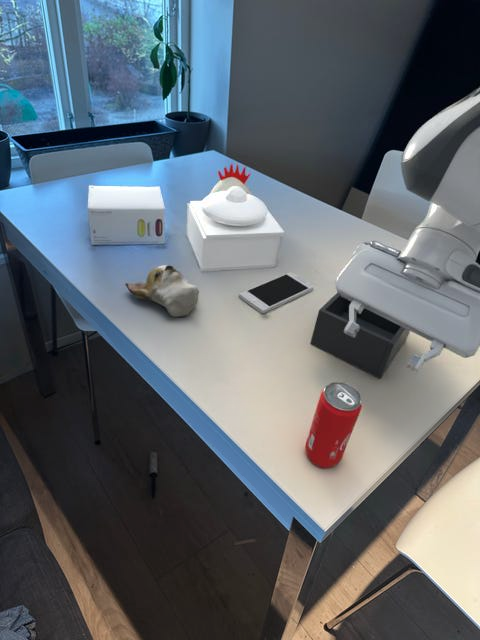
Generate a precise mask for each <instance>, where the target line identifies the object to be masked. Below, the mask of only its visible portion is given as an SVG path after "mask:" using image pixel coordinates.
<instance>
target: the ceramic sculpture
mask: <svg viewBox="0 0 480 640" xmlns="http://www.w3.org/2000/svg"><path fill="white" fill-rule="evenodd" d="M124 285H125V287H126V288H127V290H128V291H129V293H130V294H131V295H133V296H134V297H136V298H137V299H142V300H148V301H153V302H155V303H157V304H158V305H160V306H163V307H165V308H166V310H167V313H169V315H170V316H172V317H174V318H178V317H184V316H187V315H188V314H190V312H192V311H193V310H194V309H195V307H196V306H197V304H198V301H199V295H200V290H199V289H198V287H197V286H196V285H195V284H191V283H189V281H188V280H187V279H186V277H185V276H184V274H182V273H181V271H180V270H179V269H177V268H175V267H174V266H173V265H169V264H168V265H167V264H164V265H160V266H156V267H154V268H153V269H152V270H150V271H149V272H148V274H147V277H146V281H145V282H135V283H127V282H124Z"/></svg>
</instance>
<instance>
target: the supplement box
mask: <svg viewBox="0 0 480 640" xmlns="http://www.w3.org/2000/svg"><path fill="white" fill-rule="evenodd" d="M87 200H88V201H87V215H88V216H87V217H88V226H89V236H90V245H91V246H104V245H105V246H110V245H111V246H112V245H113V246H115V245H117V246H118V245H119V246H120V245H121V246H123V245H165V244H166V207H165V202H164V199H163V196H162V189H161V187H160V186H143V185H142V186H141V185H139V186H136V185H135V186H134V185H133V186H132V185H88V197H87Z"/></svg>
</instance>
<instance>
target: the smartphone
mask: <svg viewBox="0 0 480 640" xmlns="http://www.w3.org/2000/svg"><path fill="white" fill-rule="evenodd" d="M314 287H315V286H314V285H312V284H311V283H309V282H308V281H306V280H305V279H303V278H301V277H300V276H298V275H296V274H295V273H293V272H291V271H289V272H287V273H284V274H282V275H280V276H277V277H275V278H272V279H270V280H268V281H265V282H262V283H260V284H258V285H256V286H253V287H251V288H248V289H247V290H244V291H242V292H240V293H239V298H240V299H241V300H242V301H244V302H245V303H247V304H248V305H250V307H252V308H254V309H255V310H256V311H258V312H259V313H261V314H266V313H268V312H270V311H272V310H274V309H277V308H278V307H280V306H283V305H285V304H287V303H289V302H291V301H293V300H295V299H297V298H300V297H302V296H304V295H306V294H308V293H310V292H312V291H313V290H314Z"/></svg>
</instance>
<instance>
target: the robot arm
mask: <svg viewBox="0 0 480 640" xmlns="http://www.w3.org/2000/svg"><path fill="white" fill-rule="evenodd" d="M400 169H401V174H402V179H403V183H404V186H405V188H406V191H408V192H410V193H412V194H414V195H416V196H418V197H419V198H421V199H422V200H426V201H427V202H430V204H429V206H428V210H427V213H426V216H425V218H424V219H423V220H422V222H421V223H419V224H418V225H417V226H416V227H415V228H414V230H413V232H412V233H411V235H410V236H409V238H408V240H407V241H406V243H405V244H404V246H403V248H402V249H401V250H400V249H396V248H394V247H391V246H388V245H385V244H382V242H380V241H377V240H372V241H364V242H361V243H360V244H359V245H357V247H356V249H355V250H354V252H353V253H352V256H351V260H349V262H348V264H346V265H345V267H344V268H343V269H342V271H341V272H340V273H339V275H338V276H337V277H336V279H335V282H334V285H335V290H336V293H337V292H338V294H339V295H340V296H341V297H343V298H345V299H347V300H349V301H351V304H350V305H349V320H350V321H349V322H348V324H347V326H346V327H345V329H344V333H345V334H347V335H349V336H351V337H353V338H355V337H356V335H357V333H358V332H359V330H360V329H361V328H360V326H359V325H358V324H356V313H358V314H361V312H362V311H363V309H364V308H365V309H367V310H369V311H371V312H373V313H375V314H377V315H379V316H381V317H383V318H385V319H387V320H389V321H391V322H393V323H395V324H397V325H399V326H401V327H403V328H405V329H407V330H409V331H410V332H412V334H413V333H414V334H415V335H417V336H419V337H421V338H423V339H425V340H428V341H429V342H431V343H430V344H429V351H427V352H425V353H423V354H421V355H417V354H416V353H413V354H412V356H411V359H410V360H409V361H408V362H407V364H406V367H407V368H408V369H409V370H411V371H413V372H415V373H418V374H419V372H420V371H421V369H422V367H423V365H424V364H425V363H427V362H429V361H432V360H433V359H435V358H436V357H439V356H440V355H441V354H442V352H443V350H444V349H445V350H448V351H449V352H451V353H454V354H455V355H458V356H460V357H461V358H463V359H468V358H471V357H473V356H475V355H476V354H477V352H478V351H479V348H480V264H479V263H478V262H477V258H478V255H479V253H480V86H479V87H477V88H476V89H475V90H473V91H472V92H471V93H469V94H468V95H465V96H464V97H463V98H461V99H460V100H458V101H456V102H454V103H453V104H451V105H449V106H447V107H445V108H444V109H442V110H441V111H439V112H438V113H437V114H435V115H434V116H433V117H432V118H430V119H429V120H427V121H426V122H425V123H423V125H421V127H419V128H418V129H417V131H415V133H414V134H413V136H412V137H411V139H410V140H408V143H407V145H406V147H405V148H404V150H403V152H402V154H401V156H400Z"/></svg>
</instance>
